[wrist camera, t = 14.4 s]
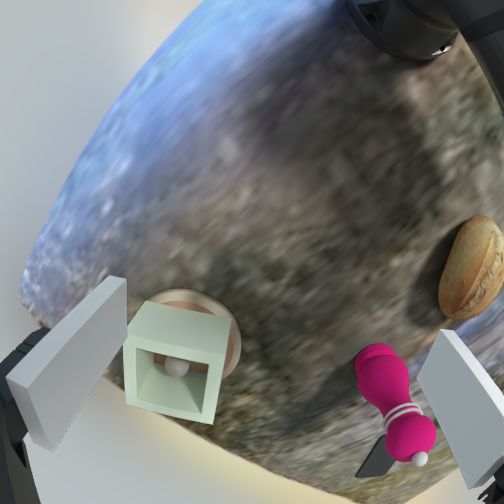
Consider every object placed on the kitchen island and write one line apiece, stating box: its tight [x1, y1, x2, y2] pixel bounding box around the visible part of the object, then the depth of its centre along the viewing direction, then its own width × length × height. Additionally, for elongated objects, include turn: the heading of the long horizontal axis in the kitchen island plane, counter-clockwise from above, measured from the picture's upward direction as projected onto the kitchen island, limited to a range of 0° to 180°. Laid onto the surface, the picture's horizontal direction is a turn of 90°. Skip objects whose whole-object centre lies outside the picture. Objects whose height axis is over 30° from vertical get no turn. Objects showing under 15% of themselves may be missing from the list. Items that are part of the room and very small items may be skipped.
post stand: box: [140, 289, 242, 380], centre depth 39 cm, size 15×15×8 cm
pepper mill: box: [354, 343, 436, 467], centre depth 33 cm, size 7×7×20 cm
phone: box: [356, 434, 396, 478], centre depth 50 cm, size 7×1×15 cm
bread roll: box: [438, 216, 504, 321], centre depth 35 cm, size 10×15×8 cm, turn 167°
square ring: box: [123, 301, 231, 424], centre depth 37 cm, size 11×11×8 cm
